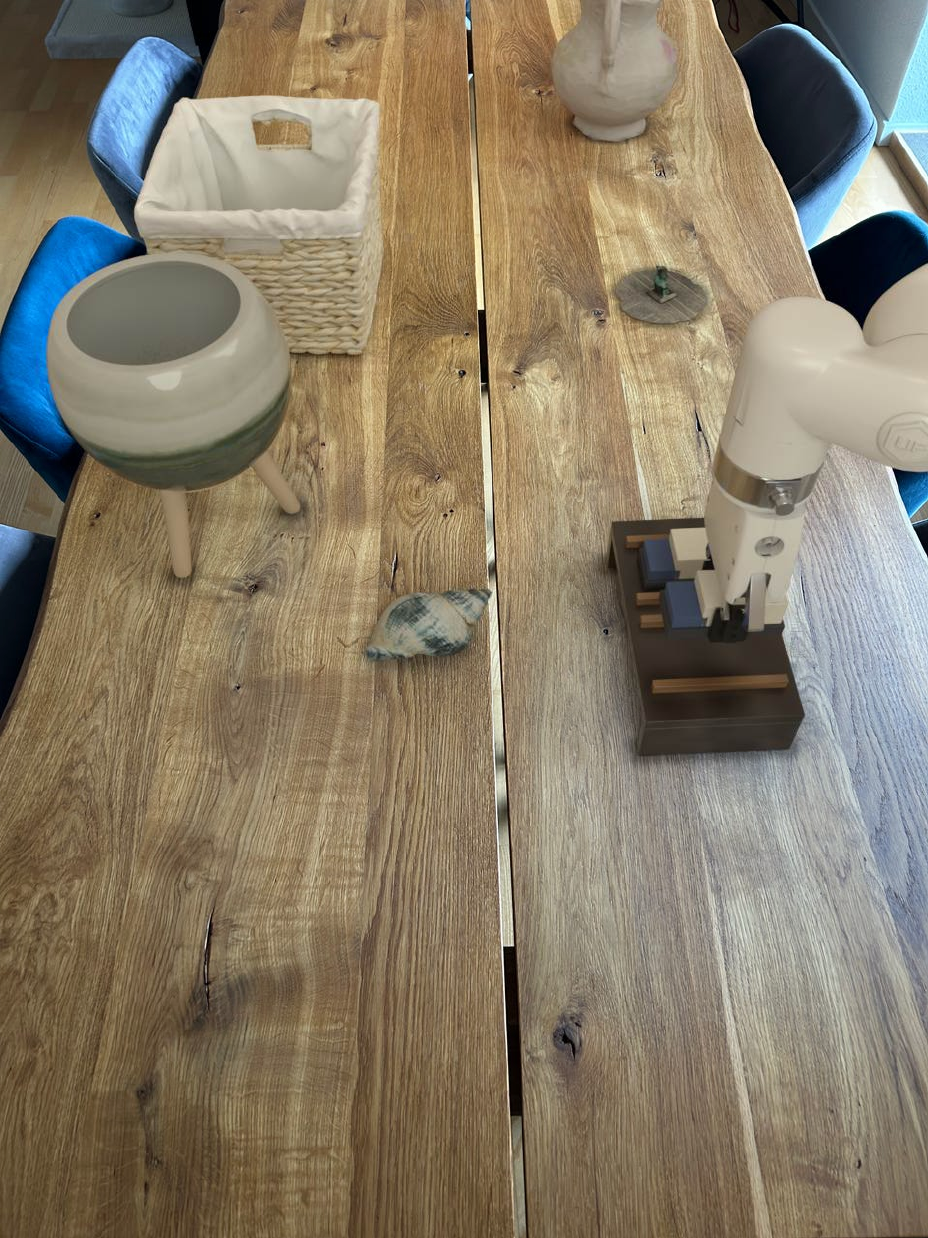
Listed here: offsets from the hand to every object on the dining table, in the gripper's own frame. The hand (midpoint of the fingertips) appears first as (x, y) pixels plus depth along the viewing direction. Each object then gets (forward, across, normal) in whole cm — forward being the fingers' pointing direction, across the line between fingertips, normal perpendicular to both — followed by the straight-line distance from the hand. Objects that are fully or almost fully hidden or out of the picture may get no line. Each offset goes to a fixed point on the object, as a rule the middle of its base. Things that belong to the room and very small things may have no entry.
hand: (720, 613), depth 88 cm
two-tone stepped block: (+6, +10, 0) cm, 12 cm away
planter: (+13, +25, +49) cm, 56 cm away
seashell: (+12, +7, +26) cm, 29 cm away
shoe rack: (+12, +5, 0) cm, 13 cm away
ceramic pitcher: (+12, +109, -5) cm, 110 cm away
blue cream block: (0, 0, 0) cm, 0 cm away
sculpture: (+12, +63, -6) cm, 64 cm away
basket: (+13, +65, +44) cm, 79 cm away
